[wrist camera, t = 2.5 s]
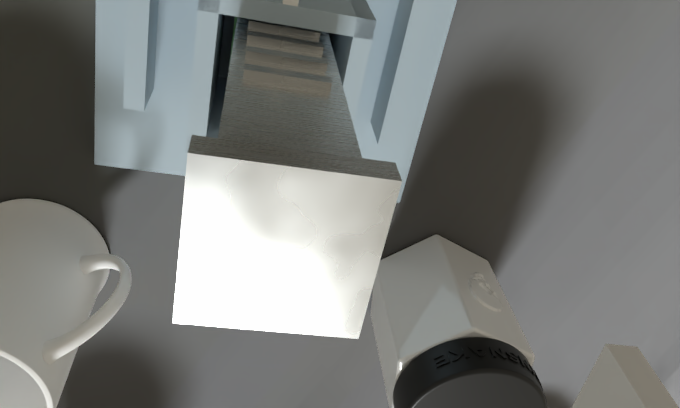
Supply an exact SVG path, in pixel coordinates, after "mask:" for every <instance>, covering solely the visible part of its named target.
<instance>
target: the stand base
mask: <svg viewBox="0 0 680 408" xmlns="http://www.w3.org/2000/svg"><path fill="white" fill-rule="evenodd" d="M456 2H457V0H96V35H95V149H94V164H95V165H103V166H111V167H119V168H127V169H135V170H143V171H151V172H158V173H166V174H174V175H182V176H186V165H187V153H188V149H189V145H190V141H191V137H192V135H197V136H205V137H212V138H218V134H219V128H220V121H221V115H222V109H223V103H224V97H225V91H226V85H227V78H228V71H229V63H230V54H231V45H232V37H233V28H234V19H235V17H241V18H247V19H252V20H258V21H264V22H270V23H276V24H282V25H287V26H293V27H299V28H305V29H311V30H316V31H322V32H328V34H329V38H330V41H331V45H332V49H333V52H334V56H335V60H336V63H337V67H338V71H339V74H340V78H341V82H342V85H343V89H344V93H345V96H346V100H347V104H348V108H349V111H350V115H351V119H352V122H353V126H354V130H355V133H356V137H357V141H358V144H359V148H360V152H361V155H362V158H365V159H372V160H379V161H387V162H394V163H396V165H397V168H398V171H399V174H400V176H401V179H402V184H401V188H400V191H399V195H398V198H397V203H400V201H401V197H402V193H403V190H404V186H405V183H406V179H407V176H408V172H409V169H410V165H411V162H412V158H413V154H414V151H415V147H416V144H417V140H418V137H419V133H420V130H421V126H422V123H423V119H424V115H425V112H426V108H427V105H428V101H429V98H430V94H431V91H432V87H433V84H434V80H435V76H436V73H437V69H438V66H439V62H440V59H441V55H442V52H443V48H444V45H445V41H446V37H447V34H448V30H449V27H450V23H451V20H452V16H453V13H454V9H455V6H456Z"/></svg>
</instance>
